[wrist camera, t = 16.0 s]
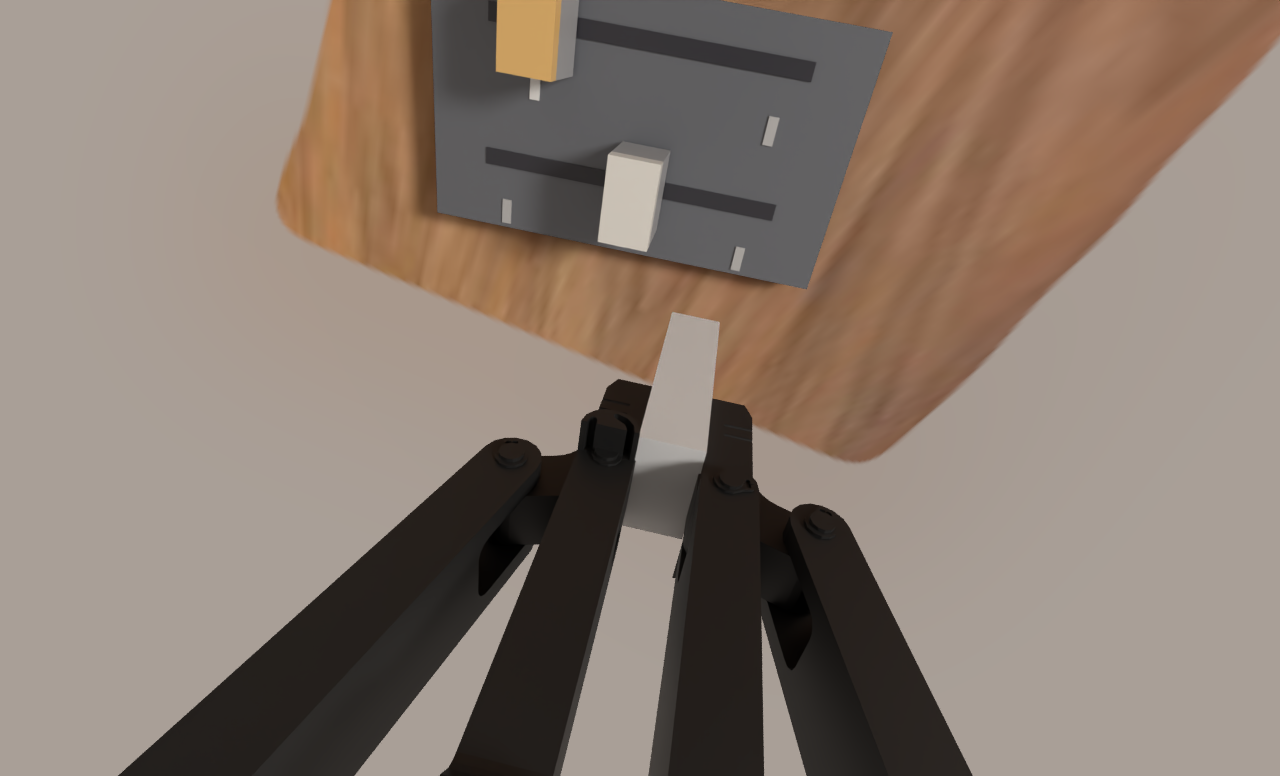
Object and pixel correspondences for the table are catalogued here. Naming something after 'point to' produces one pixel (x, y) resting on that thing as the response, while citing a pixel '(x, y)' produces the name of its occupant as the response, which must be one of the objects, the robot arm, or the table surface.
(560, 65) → the amber fader
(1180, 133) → the table surface
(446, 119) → the console
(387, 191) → the table surface
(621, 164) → the block
